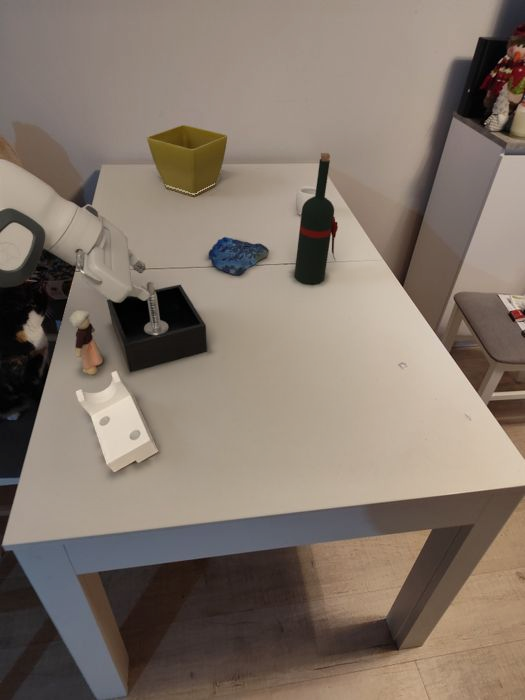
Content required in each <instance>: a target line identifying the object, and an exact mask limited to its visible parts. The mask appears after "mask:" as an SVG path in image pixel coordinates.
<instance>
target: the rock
mask: <svg viewBox="0 0 525 700" xmlns="http://www.w3.org/2000/svg"><path fill="white" fill-rule="evenodd" d="M269 252H270V250H269V248H268V247H267V246H265V245H263V244H262V243H260V242H259V243H250V242H248V241H243V240H239V239H233V238H231V237H228V236H227V237H226V236H224V237H222V238H221V239H218V240H217V242H216V243H214V244H213V245H212V248H211V249H210V250H209V252H208V258H209V259H210V261H211V265H212V266H213V267H216V268H217V269H219V270H220V271H224V272H226V273H229V274H232V275H234V276H241V275H243V274H244V273H245V272H246V271H247V269H249V268H251V267H253V265H255V264H257V262H259V261H261V260H262V259H265V258H267V256H268V254H269Z"/></svg>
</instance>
